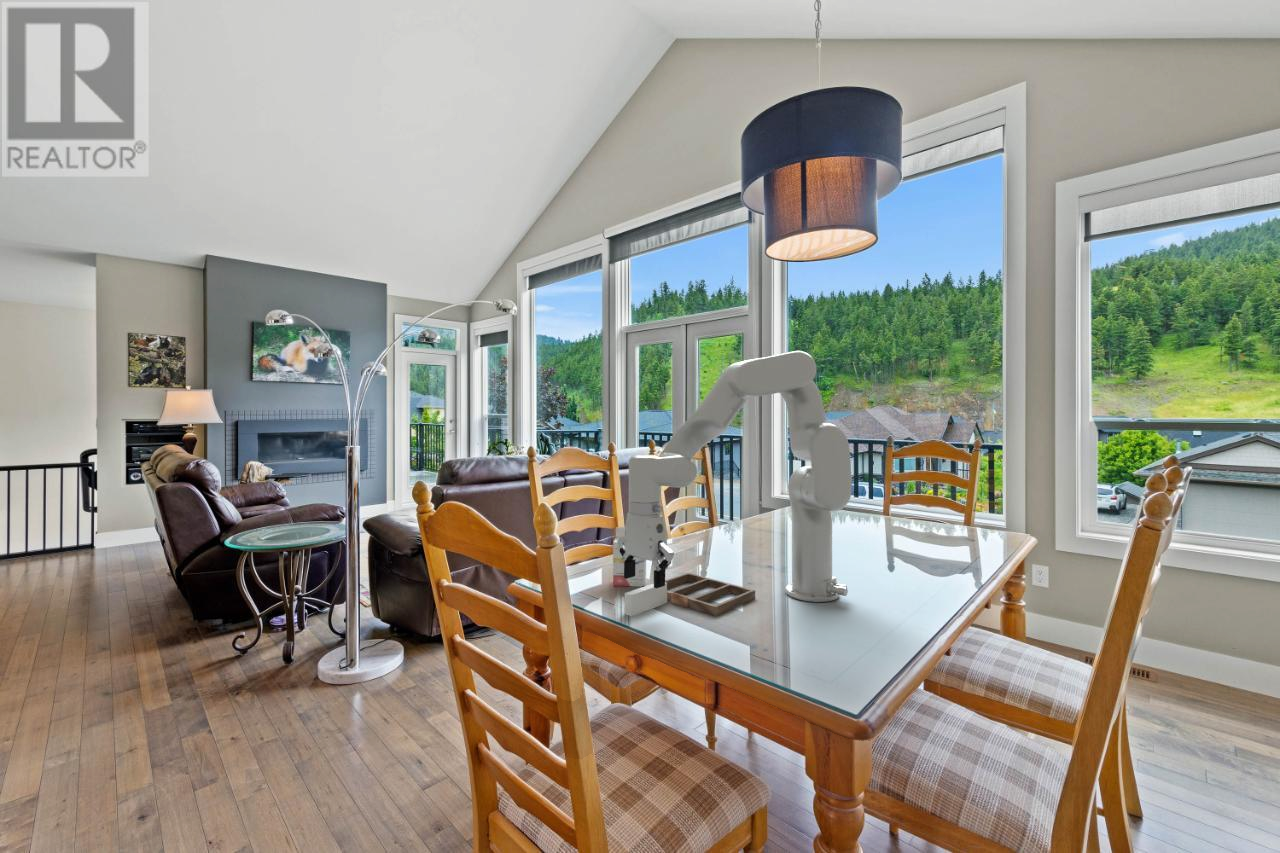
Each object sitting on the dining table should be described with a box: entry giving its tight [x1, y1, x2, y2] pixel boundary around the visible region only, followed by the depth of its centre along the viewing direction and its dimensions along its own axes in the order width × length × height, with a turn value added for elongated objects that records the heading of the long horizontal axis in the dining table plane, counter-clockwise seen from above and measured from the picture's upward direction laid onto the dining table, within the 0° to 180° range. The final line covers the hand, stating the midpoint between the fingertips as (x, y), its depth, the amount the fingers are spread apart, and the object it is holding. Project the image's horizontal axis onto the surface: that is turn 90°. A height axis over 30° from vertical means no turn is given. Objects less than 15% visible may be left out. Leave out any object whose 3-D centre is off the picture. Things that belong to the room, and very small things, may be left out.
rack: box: [665, 572, 756, 617], centre depth 135 cm, size 21×16×2 cm
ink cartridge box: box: [612, 526, 647, 587], centre depth 146 cm, size 9×5×15 cm, turn 84°
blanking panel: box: [624, 582, 668, 617], centre depth 128 cm, size 2×12×5 cm, turn 135°
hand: (644, 581), depth 127 cm, fingers open, 9 cm apart
